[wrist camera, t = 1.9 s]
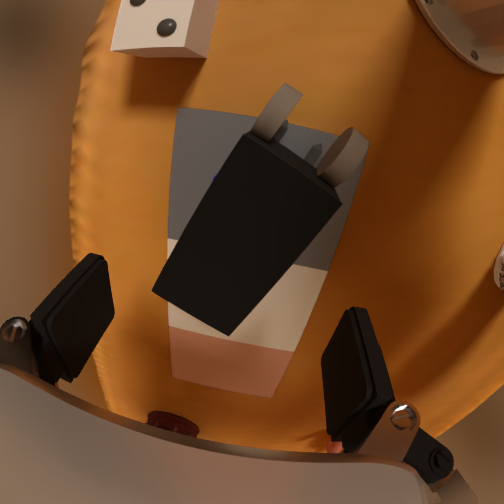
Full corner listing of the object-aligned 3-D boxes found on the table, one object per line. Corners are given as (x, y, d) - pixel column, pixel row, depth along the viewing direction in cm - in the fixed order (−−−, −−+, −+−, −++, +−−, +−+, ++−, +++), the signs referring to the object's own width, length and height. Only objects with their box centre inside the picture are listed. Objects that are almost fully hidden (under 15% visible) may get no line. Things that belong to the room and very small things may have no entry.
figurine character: (273, 88, 18) (175, 248, 23) (277, 65, 11) (142, 298, 16) (348, 139, 19) (243, 286, 25) (391, 147, 12) (235, 347, 18)
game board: (179, 107, 18) (177, 107, 18) (367, 144, 18) (369, 145, 18) (172, 375, 35) (172, 377, 35) (271, 396, 35) (271, 398, 35)
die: (157, 3, 13) (125, -16, 9) (219, 1, 13) (200, -25, 9) (145, 57, 16) (109, 50, 12) (207, 58, 16) (183, 46, 12)
